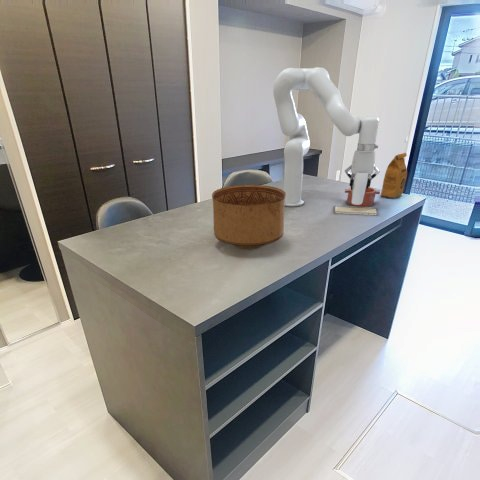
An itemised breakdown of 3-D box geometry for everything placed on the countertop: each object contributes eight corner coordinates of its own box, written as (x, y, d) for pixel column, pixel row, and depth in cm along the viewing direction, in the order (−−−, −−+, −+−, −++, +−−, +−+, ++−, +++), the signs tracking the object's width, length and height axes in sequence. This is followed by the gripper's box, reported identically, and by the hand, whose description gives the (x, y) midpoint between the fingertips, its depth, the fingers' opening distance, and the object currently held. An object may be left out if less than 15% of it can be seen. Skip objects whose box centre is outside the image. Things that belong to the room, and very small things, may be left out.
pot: (217, 232, 155) (215, 185, 144) (280, 232, 154) (283, 184, 143) (211, 258, 132) (208, 204, 121) (285, 258, 131) (288, 203, 120)
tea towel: (335, 213, 175) (335, 212, 175) (335, 206, 185) (335, 205, 185) (377, 215, 171) (377, 214, 171) (375, 208, 181) (375, 207, 181)
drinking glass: (347, 202, 179) (352, 170, 170) (360, 201, 179) (366, 170, 171) (352, 205, 173) (357, 173, 165) (365, 205, 173) (371, 173, 165)
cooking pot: (343, 205, 185) (345, 192, 181) (342, 198, 196) (344, 185, 192) (378, 207, 182) (381, 193, 178) (376, 200, 193) (378, 187, 189)
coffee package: (405, 195, 200) (415, 153, 187) (393, 200, 193) (403, 156, 181) (389, 192, 206) (398, 151, 193) (377, 196, 199) (386, 154, 187)
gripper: (384, 146, 163) (377, 186, 173) (346, 146, 167) (340, 185, 176) (386, 149, 157) (378, 190, 167) (346, 148, 160) (341, 189, 170)
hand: (359, 187), depth 172 cm, fingers closed on drinking glass, 6 cm apart
